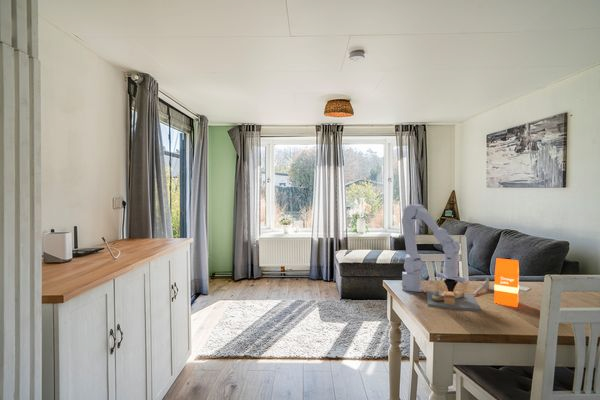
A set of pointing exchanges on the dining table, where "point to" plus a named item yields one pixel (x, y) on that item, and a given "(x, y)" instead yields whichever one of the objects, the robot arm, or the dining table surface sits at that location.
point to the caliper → (482, 286)
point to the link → (441, 296)
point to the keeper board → (454, 301)
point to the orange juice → (506, 282)
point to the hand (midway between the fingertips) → (450, 295)
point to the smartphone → (523, 288)
